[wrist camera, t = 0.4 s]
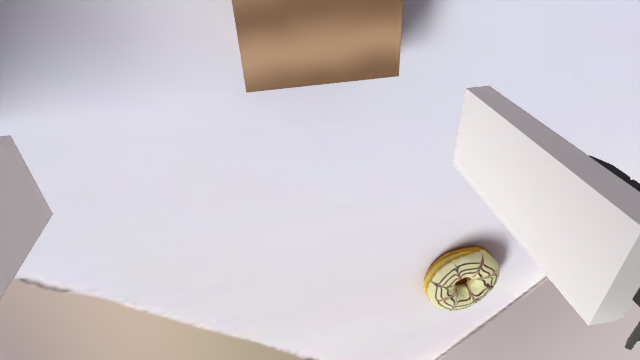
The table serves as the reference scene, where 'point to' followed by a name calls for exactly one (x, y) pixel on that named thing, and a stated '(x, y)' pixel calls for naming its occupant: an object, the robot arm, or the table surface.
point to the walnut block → (317, 41)
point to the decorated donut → (461, 278)
